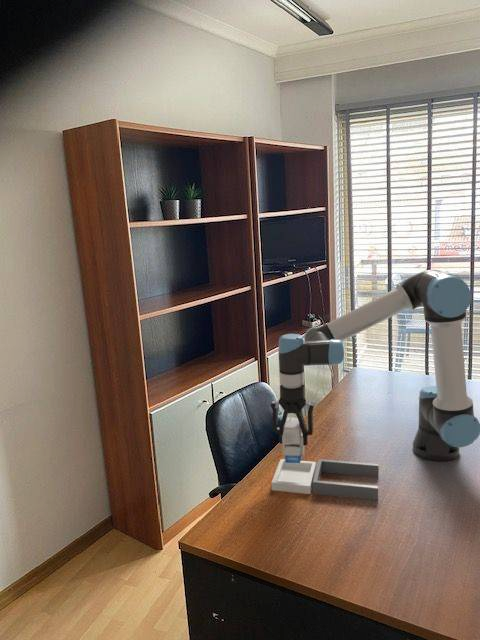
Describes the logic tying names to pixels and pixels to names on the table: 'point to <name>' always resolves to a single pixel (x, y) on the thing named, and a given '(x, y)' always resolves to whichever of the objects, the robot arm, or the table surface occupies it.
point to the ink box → (292, 440)
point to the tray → (294, 477)
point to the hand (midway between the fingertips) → (293, 453)
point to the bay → (345, 488)
